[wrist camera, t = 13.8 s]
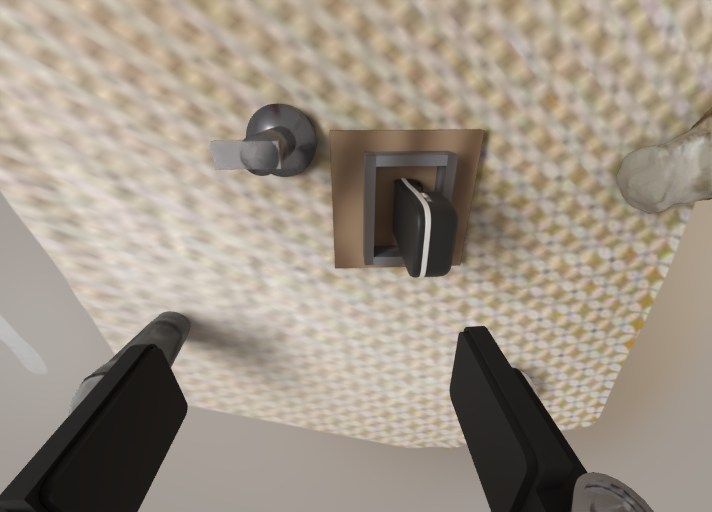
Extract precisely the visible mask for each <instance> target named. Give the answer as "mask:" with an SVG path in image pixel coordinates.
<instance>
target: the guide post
mask: <svg viewBox="0 0 712 512" xmlns="http://www.w3.org/2000/svg"><path fill="white" fill-rule="evenodd" d="M209 143H210V148H211V152H212V157H213V162H214V166H215V170H233V169H247V170H248V171H249V172H251V173H253V174H255V175H259V176H265V175H269V174H273V175H276V176H281V177H288V176H293V175H296V174H298V173H300V172H302V171H303V170H304V169H306V168H307V167H308V165H309V164H310V162H311V161H312V159H313V157H314V154H315V150H316V135H315V131H314V129H313V126H312V124H311V123H310V121H309V120H308V118H307V117H306V116H305V115H304V114H303V113H302V112H301V111H299V110H298V109H296V108H294V107H292V106H289V105H286V104H270V105H267V106H264V107H262V108H261V109H259V110H258V111H257V112H256V113H255V114H254V115H253V116H252V118H251V119H250V121H249V123H248V127H247V132H246V138H245V139H244V140H214V141H210V142H209Z"/></svg>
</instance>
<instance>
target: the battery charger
mask: <svg viewBox="0 0 712 512" xmlns="http://www.w3.org/2000/svg"><path fill="white" fill-rule="evenodd" d="M457 228H458V213H457V210H456V209H455V207H454V206H453V205H452V204H451V203H450V201H449V200H448V199H447V198H446V197H445V196H444V195H442V194H441V193H439V192H424V191H423V185H422V183H421V182H420V181H418V180H415V179H405V178H401V179H397V180H396V181H395V193H394V214H393V234H394V237H395V239H396V242H397V244H398V247H399V250H400V253H401V256H402V258H403V261H404V264H405V266H406V268H407V271H408V273H409V275H410V276H412V277H417V278H424V277H439V276H444V275H446V274H447V273H448V272H449V271H450V269H451V266H452V261H453V255H454V248H455V242H456V235H457Z"/></svg>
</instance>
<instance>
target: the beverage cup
mask: <svg viewBox="0 0 712 512" xmlns="http://www.w3.org/2000/svg"><path fill="white" fill-rule="evenodd" d="M189 331H190V323H189V321H188V320H187V319H186V318H185V317H184V316H182V315H181V314H179V313H175V312H164V313H162V314H160V315H159V316H158V317H157V318H156V319H154V320H153V321H151V322H150V323H149V324H148V325H147V326H146V327H145V328H144V329H143V330H142V331H141V332H140V333H139V334H138V335H136V336H135V337H134V338H133V339H132V340H131V341H130V342H129V343H128V344H127V345H126V346H125V347H124V348H123V349H122V350H120V351H119V352H118V353H117V354H116V355H115V356H114V357H113V358H112V359H111V360H110V361H109V362H108V363H106V364H105V365H103V366H102V367H100V368H99V369H97V370H96V371H95V372H94V373H92V374H91V375H90V376H88V377H87V378H85V379H84V381H83V382H82V384H81V386H80V387H79V389H78V391H77V392H76V393H75V395H74V397H73V399H72V401H71V404H70V408H69V415H70V414H71V413H72V412H73V411H74V410H75V409H76V407H77V406H78V405H79V404H80V403H81V402H82V401H83V399H84V398H85V397H86V396H87V395H88V394H89V392H90V391H91V390H92V389H93V388H94V387H95V386H96V384H97V383H98V382H99V381H100V380H101V379H102V378H103V376H104V375H105V374H106V373H107V372H108V371H109V370H110V368H111V367H112V366H113V365H114V364H115V363H116V362H117V360H118V359H119V358H120V357H121V356H122V355H123V353H124V352H125V351H126V350H127V349H128V348H129V347H130V346H132V345H139V344H155V345H157V347H158V348H160V349H162V351H163V353H164V355H165V357H166V359H167V361H168V363H169V365H170V368H171V367H172V365H173V363H174V361H175V359H176V357H177V355H178V353H179V351H180V349H181V347H182V345H183V344H184V342H185V340H186V337H187V335H188V332H189Z"/></svg>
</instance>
